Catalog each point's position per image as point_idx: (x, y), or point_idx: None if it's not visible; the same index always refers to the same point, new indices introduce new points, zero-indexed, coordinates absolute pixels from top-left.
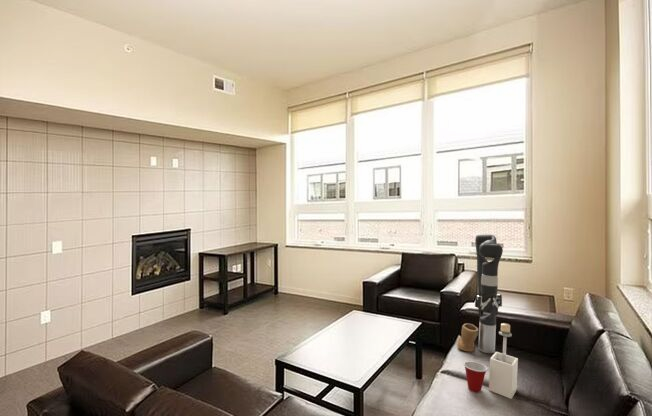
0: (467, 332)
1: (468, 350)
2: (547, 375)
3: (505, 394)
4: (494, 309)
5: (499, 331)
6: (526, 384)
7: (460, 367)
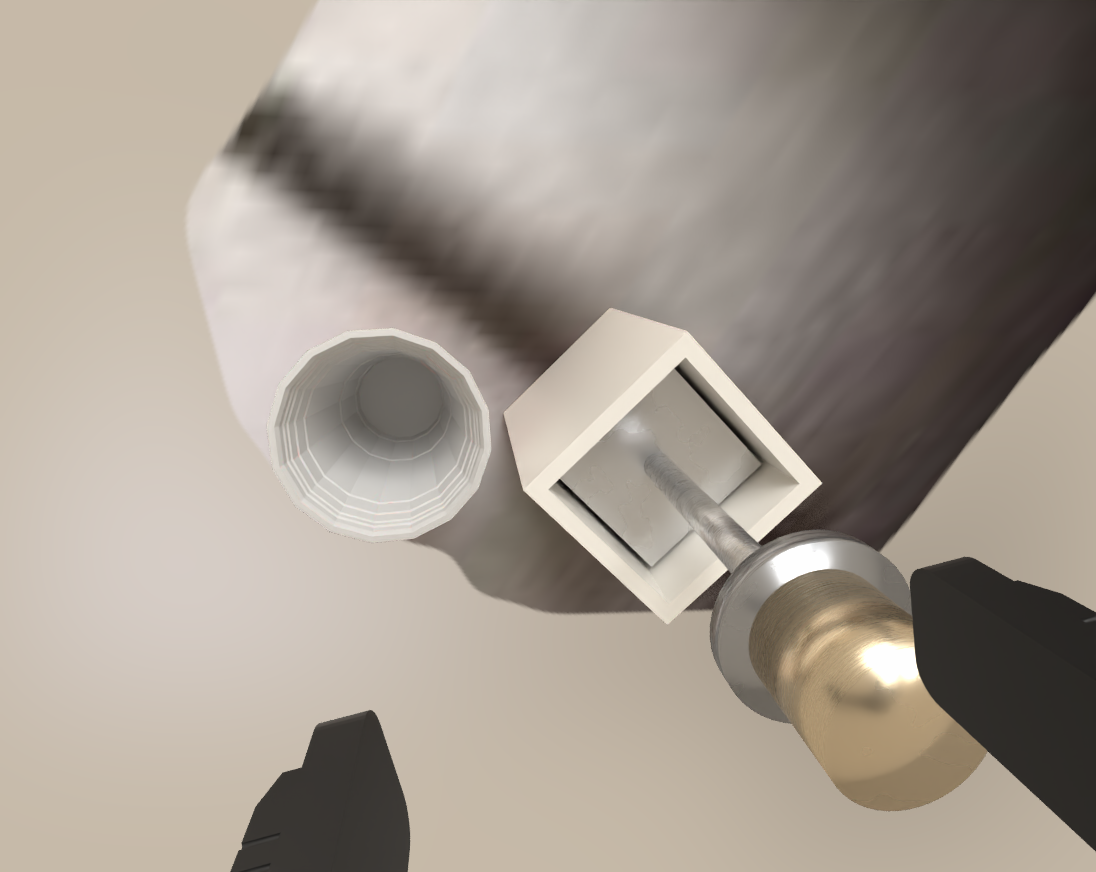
0: None
1: None
2: (1070, 229)
3: None
4: (1071, 733)
5: (755, 587)
6: (823, 345)
7: (431, 56)
